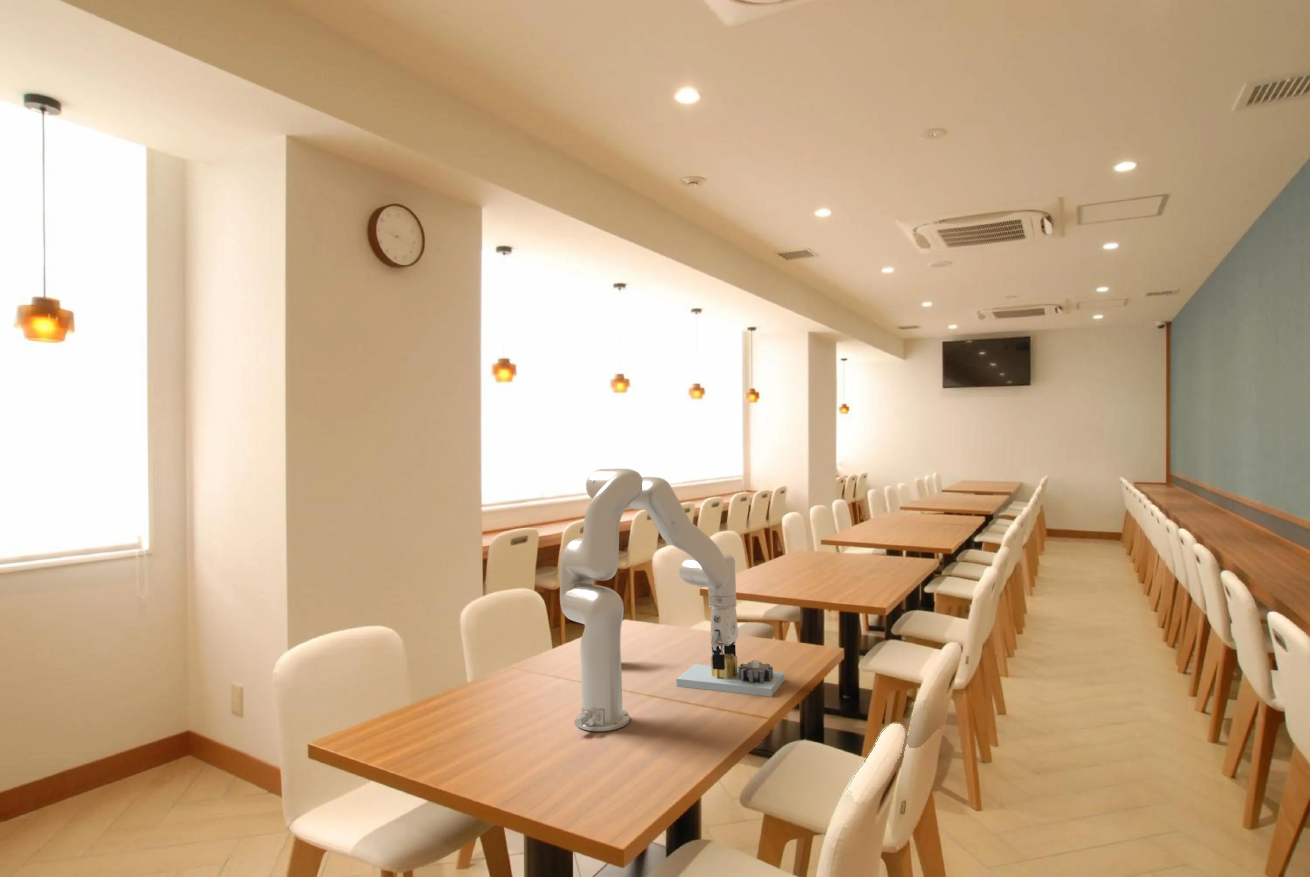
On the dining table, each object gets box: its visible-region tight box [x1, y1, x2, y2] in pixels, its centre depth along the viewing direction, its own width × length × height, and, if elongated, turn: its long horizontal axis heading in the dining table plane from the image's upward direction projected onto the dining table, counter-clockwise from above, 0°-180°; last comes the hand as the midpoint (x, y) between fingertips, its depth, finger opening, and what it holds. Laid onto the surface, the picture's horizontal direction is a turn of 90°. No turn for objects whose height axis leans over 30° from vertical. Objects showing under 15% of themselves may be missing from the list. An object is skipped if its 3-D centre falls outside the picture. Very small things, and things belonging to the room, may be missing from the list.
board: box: [675, 659, 785, 698], centre depth 191 cm, size 14×26×6 cm, turn 66°
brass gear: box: [710, 652, 738, 679], centre depth 191 cm, size 7×7×5 cm
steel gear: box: [737, 661, 774, 684], centre depth 188 cm, size 9×9×3 cm
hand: (724, 663), depth 192 cm, fingers open, 9 cm apart
